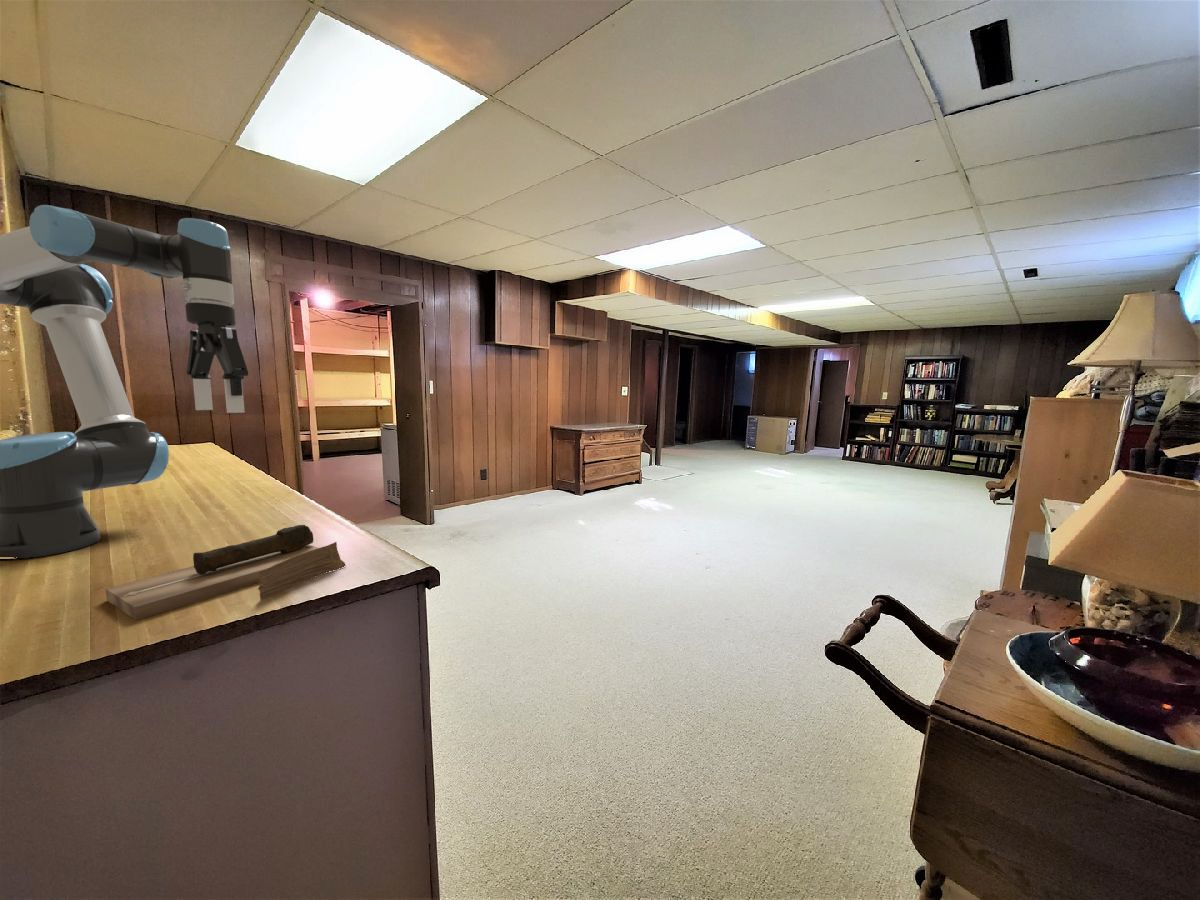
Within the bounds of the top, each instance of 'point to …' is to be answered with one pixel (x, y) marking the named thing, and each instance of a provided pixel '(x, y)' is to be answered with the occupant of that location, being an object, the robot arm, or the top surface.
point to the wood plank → (299, 569)
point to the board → (190, 585)
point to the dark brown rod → (253, 549)
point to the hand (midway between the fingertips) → (219, 411)
